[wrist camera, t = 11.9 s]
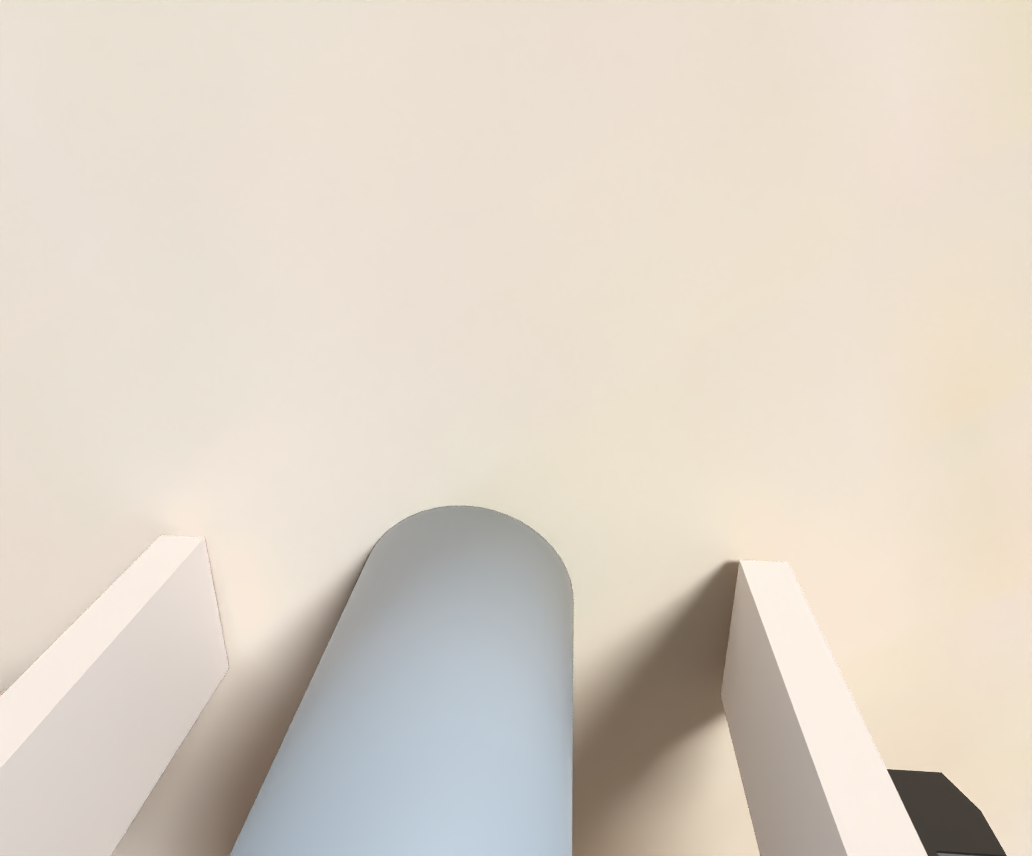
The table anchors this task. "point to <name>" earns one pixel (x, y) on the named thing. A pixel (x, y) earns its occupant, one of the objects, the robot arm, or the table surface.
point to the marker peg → (434, 704)
